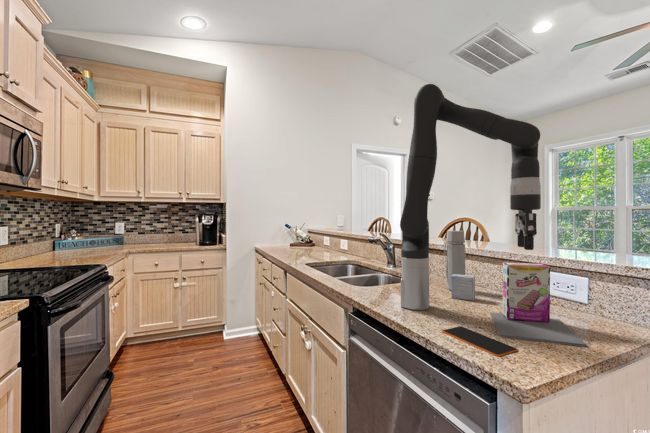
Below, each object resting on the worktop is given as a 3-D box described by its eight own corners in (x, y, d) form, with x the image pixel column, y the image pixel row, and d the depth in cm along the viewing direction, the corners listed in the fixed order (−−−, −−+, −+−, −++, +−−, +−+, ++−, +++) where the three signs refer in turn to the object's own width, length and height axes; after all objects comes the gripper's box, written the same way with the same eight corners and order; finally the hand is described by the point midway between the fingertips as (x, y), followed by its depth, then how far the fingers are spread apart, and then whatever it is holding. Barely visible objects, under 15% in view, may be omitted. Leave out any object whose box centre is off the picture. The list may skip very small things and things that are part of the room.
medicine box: (475, 298, 115) (475, 275, 115) (474, 301, 112) (473, 277, 112) (453, 295, 120) (452, 273, 120) (451, 298, 116) (450, 275, 116)
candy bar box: (507, 320, 89) (506, 264, 89) (502, 315, 94) (501, 262, 94) (551, 323, 86) (550, 265, 86) (543, 317, 91) (542, 263, 91)
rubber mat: (500, 336, 79) (500, 334, 79) (490, 314, 96) (490, 312, 96) (586, 347, 72) (586, 344, 72) (559, 321, 90) (559, 319, 90)
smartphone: (498, 359, 67) (498, 355, 67) (441, 333, 83) (441, 330, 83) (520, 352, 71) (520, 348, 71) (461, 328, 86) (461, 325, 86)
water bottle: (464, 288, 131) (463, 230, 131) (467, 292, 124) (466, 231, 124) (441, 287, 134) (441, 230, 134) (442, 291, 126) (442, 231, 127)
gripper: (547, 191, 82) (547, 251, 82) (533, 195, 95) (533, 246, 95) (515, 192, 85) (515, 250, 85) (506, 195, 98) (506, 245, 98)
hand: (525, 248), depth 90 cm, fingers open, 8 cm apart
